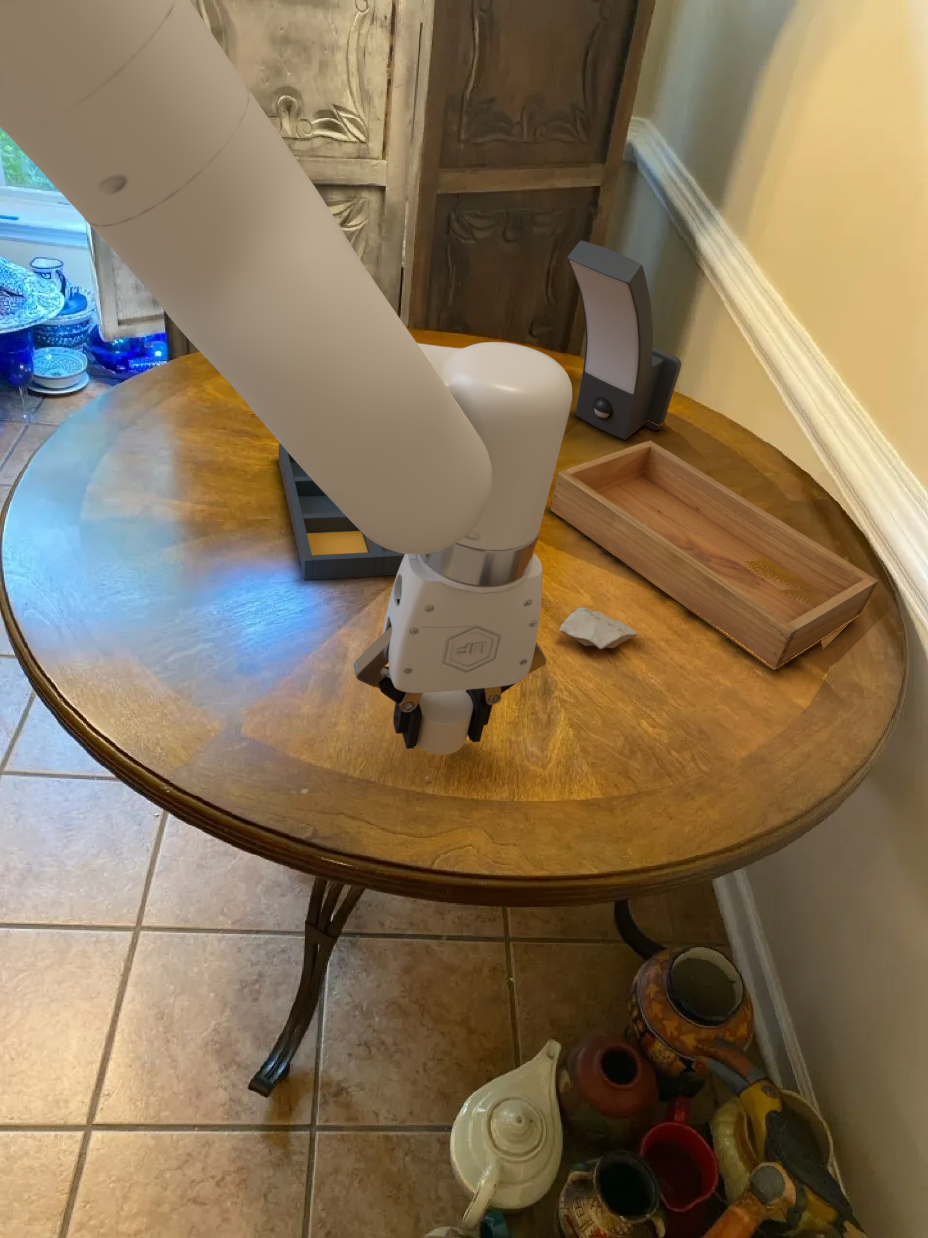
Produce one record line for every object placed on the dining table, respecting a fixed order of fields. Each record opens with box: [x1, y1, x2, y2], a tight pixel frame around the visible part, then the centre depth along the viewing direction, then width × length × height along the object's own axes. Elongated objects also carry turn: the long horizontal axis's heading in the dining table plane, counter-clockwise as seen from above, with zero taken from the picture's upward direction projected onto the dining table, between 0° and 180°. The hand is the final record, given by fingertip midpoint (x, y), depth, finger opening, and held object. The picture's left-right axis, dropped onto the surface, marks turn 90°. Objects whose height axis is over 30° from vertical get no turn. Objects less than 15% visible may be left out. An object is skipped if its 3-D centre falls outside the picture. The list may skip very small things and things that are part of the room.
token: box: [416, 690, 473, 756], centre depth 69 cm, size 4×4×3 cm
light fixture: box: [566, 240, 682, 441], centre depth 110 cm, size 11×17×24 cm, turn 140°
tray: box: [550, 440, 879, 671], centre depth 96 cm, size 31×15×6 cm, turn 39°
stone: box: [558, 606, 639, 650], centre depth 86 cm, size 6×2×6 cm
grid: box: [278, 442, 405, 581], centre depth 97 cm, size 21×21×2 cm
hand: (439, 730), depth 70 cm, fingers closed on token, 4 cm apart
